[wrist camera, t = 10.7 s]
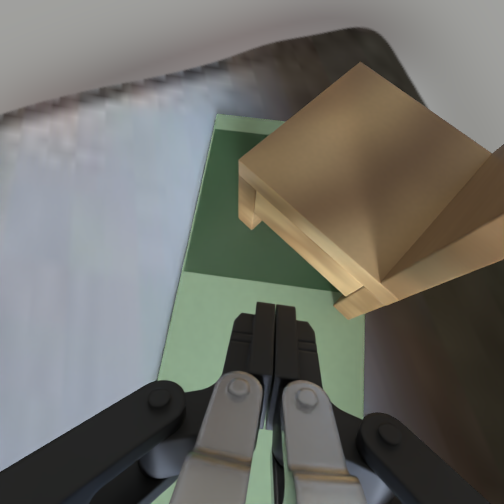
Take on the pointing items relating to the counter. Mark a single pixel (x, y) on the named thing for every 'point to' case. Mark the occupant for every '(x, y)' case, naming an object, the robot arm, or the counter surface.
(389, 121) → the chair
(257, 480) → the mat
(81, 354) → the counter surface
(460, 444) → the counter surface
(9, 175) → the counter surface
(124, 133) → the counter surface
